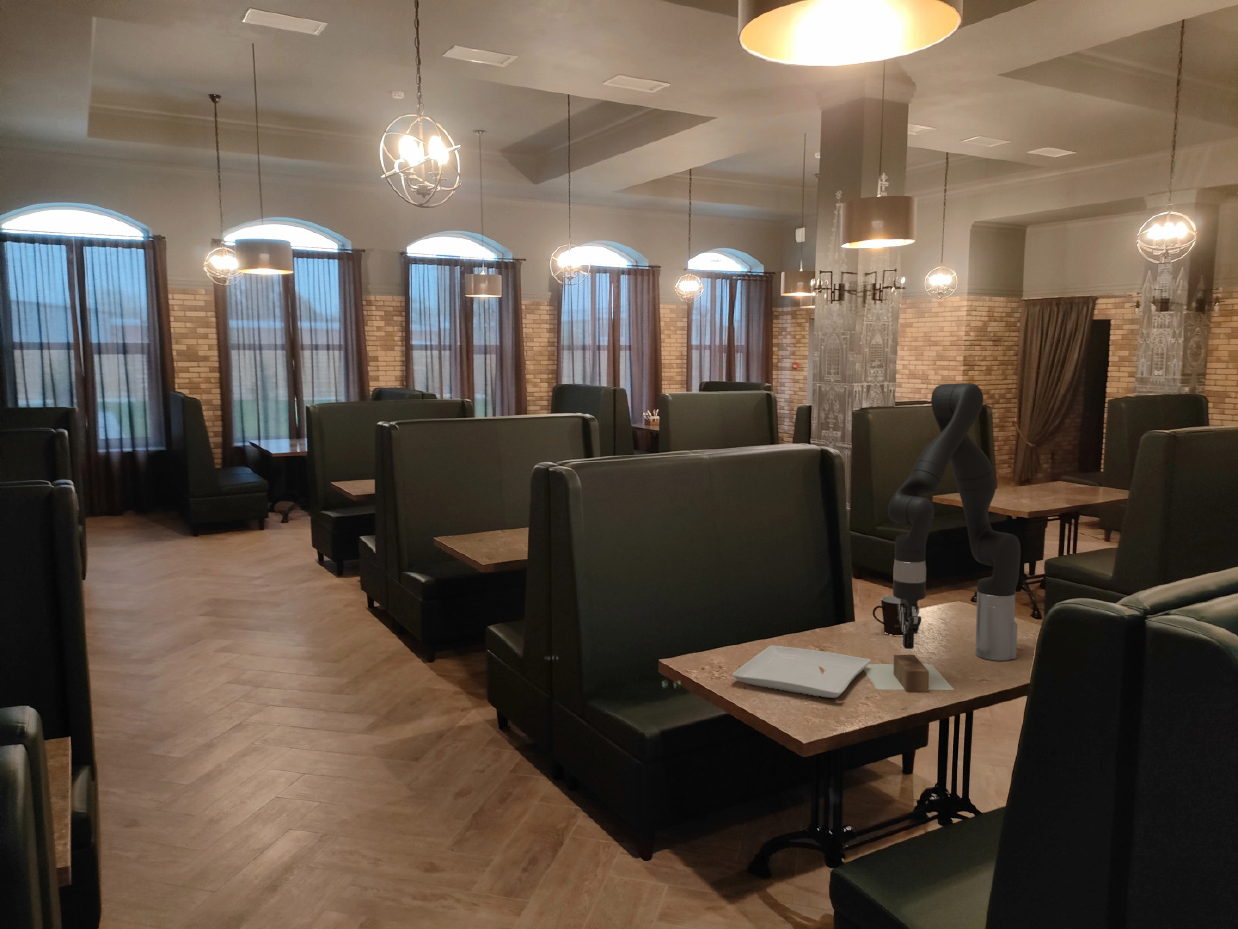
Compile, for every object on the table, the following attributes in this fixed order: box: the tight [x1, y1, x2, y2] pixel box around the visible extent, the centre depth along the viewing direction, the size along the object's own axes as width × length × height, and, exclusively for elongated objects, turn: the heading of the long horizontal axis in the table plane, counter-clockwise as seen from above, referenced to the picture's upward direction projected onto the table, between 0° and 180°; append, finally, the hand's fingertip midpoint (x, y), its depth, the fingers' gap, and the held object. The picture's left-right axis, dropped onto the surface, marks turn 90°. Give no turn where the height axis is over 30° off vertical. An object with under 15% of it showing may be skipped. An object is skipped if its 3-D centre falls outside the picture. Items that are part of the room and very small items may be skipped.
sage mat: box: [863, 663, 955, 691], centre depth 214 cm, size 18×18×1 cm
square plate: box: [731, 644, 872, 699], centre depth 215 cm, size 27×27×4 cm
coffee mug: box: [872, 595, 903, 635], centre depth 250 cm, size 12×9×10 cm
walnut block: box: [893, 654, 929, 693], centre depth 209 cm, size 5×5×12 cm
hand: (908, 647), depth 211 cm, fingers closed
